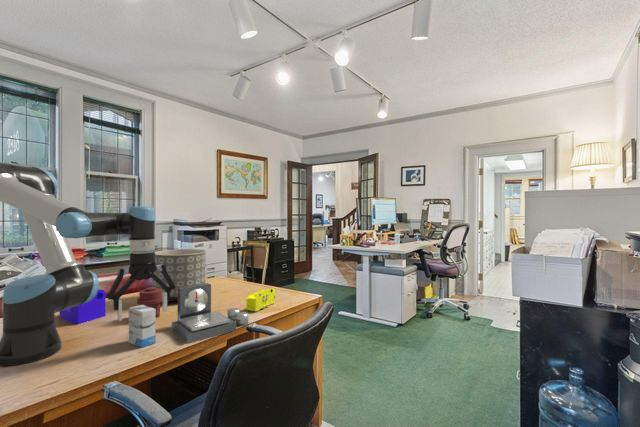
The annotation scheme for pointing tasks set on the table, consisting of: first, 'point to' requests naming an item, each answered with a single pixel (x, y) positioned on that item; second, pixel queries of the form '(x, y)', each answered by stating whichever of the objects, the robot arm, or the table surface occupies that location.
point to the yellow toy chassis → (260, 299)
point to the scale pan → (204, 321)
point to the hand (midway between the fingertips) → (143, 314)
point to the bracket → (86, 310)
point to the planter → (181, 268)
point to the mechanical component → (151, 298)
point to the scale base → (197, 313)
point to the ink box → (142, 325)
